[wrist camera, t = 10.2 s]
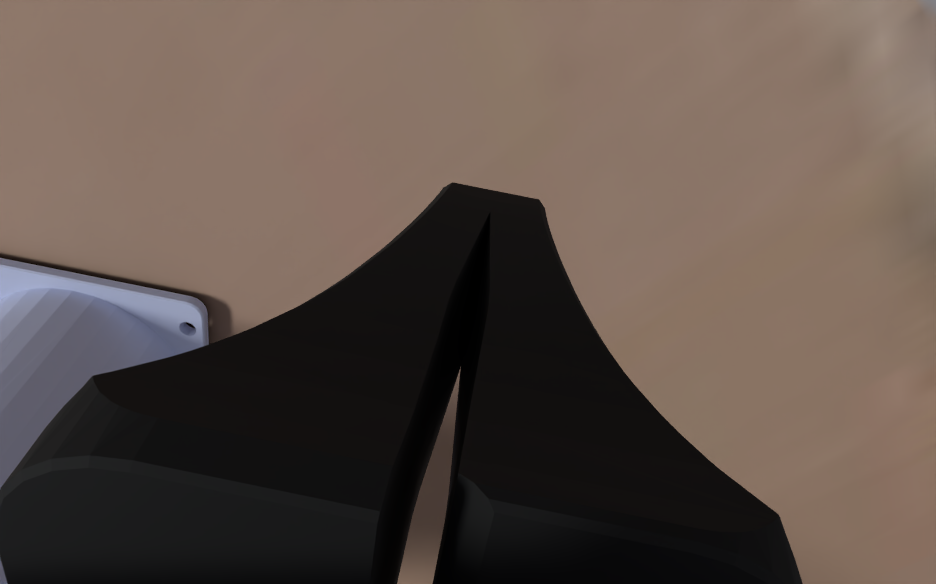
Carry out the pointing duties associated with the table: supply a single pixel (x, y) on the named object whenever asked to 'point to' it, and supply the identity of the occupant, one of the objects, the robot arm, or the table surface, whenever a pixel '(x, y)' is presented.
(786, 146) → the table surface
